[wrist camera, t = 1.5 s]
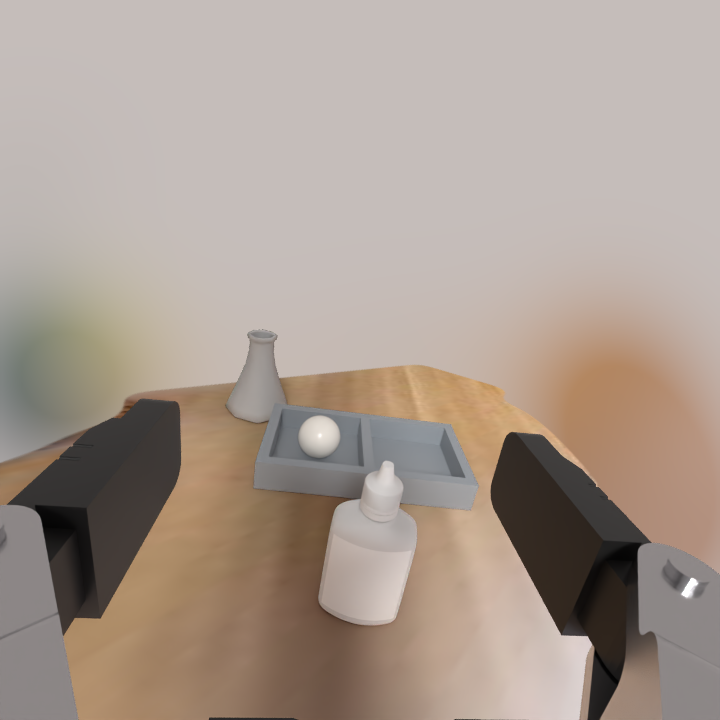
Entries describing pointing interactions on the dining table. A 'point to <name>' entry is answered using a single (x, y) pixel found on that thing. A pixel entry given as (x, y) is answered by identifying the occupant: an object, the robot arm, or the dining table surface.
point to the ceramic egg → (319, 436)
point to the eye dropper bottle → (369, 553)
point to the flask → (257, 381)
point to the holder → (366, 458)
